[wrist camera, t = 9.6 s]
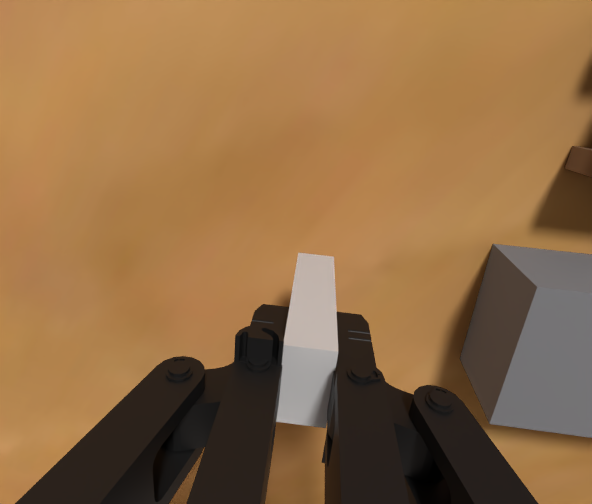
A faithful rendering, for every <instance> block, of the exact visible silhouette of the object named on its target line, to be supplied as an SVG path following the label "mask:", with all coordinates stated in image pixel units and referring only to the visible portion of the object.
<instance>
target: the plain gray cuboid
mask: <svg viewBox="0 0 592 504" xmlns="http://www.w3.org/2000/svg"><path fill="white" fill-rule="evenodd" d="M460 360H461V363H462V365H463V367H464V369H465V371H466V373H467V376H468V378H469V380H470V382H471V384H472V387H473V389H474V391H475V393H476V395H477V398H478V400H479V402H480V404H481V406H482V409H483V411H484V413H485V415H486V417H487V419H488V422H489V424H494V425H501V426H509V427H516V428H524V429H531V430H538V431H546V432H553V433H560V434H568V435H575V436H582V437H590V438H592V254H583V253H573V252H564V251H555V250H545V249H536V248H527V247H517V246H508V245H499V244H493V246H492V249H491V253H490V256H489V259H488V263H487V266H486V270H485V273H484V277H483V280H482V284H481V287H480V291H479V294H478V298H477V301H476V304H475V308H474V311H473V315H472V318H471V322H470V325H469V329H468V332H467V336H466V339H465V342H464V346H463V349H462V353H461V356H460Z"/></svg>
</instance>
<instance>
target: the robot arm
mask: <svg viewBox="0 0 592 504" xmlns="http://www.w3.org/2000/svg"><path fill="white" fill-rule="evenodd" d="M276 422H282V423H290V424H298V425H306V426H314V427H322V428H326V424H327V434H326V440H325V446H324V452H323V458H322V463H325V504H538V503H537V501H536V500H535V499H534V497H533V496H532V495H531V493H530V492H529V491H528V489H527V488H526V487H525V485H524V484H523V482H522V481H521V480H520V478H519V477H518V476H517V474H516V473H515V472H514V470H513V469H512V468H511V466H510V465H509V464H508V462H507V461H506V460H505V458H504V457H503V456H502V454H501V453H500V452H499V450H498V449H497V447H496V446H495V445H494V443H493V442H492V441H491V439H490V438H489V437H488V435H487V434H486V433H485V431H484V430H483V429H482V427H481V426H480V425H479V423H478V422H477V421H476V419H475V418H474V417H473V415H472V414H471V413H470V411H469V410H468V408H467V407H466V406H465V404H464V403H463V402H462V401H461V400H460V399H459V398H458V397H457V396H456V395H455V394H453V393H452V392H450V391H448V390H447V389H444V388H441V387H438V386H431V385H426V386H421V387H419V388H418V389H416V390H415V392H414V395H413V394H410V393H407V392H404V391H402V390H399V389H397V388H395V387H392V386H391V385H389V384H388V383H386V382H385V378H384V376H383V374H382V372H381V371H380V370H378V369H377V368H376V363H375V358H374V352H373V347H372V342H371V336H370V330H369V325H368V322H367V321H366V320H365V319H364V318H363V317H362V315H359V314H351V313H342V312H336V292H335V271H334V257H332V256H323V255H315V254H306V253H298V259H297V265H296V271H295V277H294V282H293V288H292V294H291V300H290V306H289V307H283V306H275V305H266V304H263V305H261V306H260V307H259V308H258V309H257V310H255V312H254V315H253V318H252V322H251V325H250V326H248V327H245V328H243V329H241V330H239V332H238V333H237V334H236V336H235V358H234V362H233V363H232V364H230V365H228V366H225V367H221V368H216V369H206V370H205V369H204V366H203V364H202V363H201V362H200V361H199V360H197V359H194V358H192V357H185V356H181V357H173V358H170V359H167V360H165V361H163V362H162V363H160V364H159V365H157V366H156V367H155V368H154V369H153V370H152V371H151V372H150V373H149V374H148V375H147V376H146V377H145V378H144V379H143V380H142V381H141V382H140V383H139V384H138V385H137V386H136V387H135V388H134V389H133V390H132V391H131V392H130V393H129V394H128V395H127V396H126V397H124V398H123V399H122V400H121V401H120V402H119V403H118V404H117V405H116V406H115V407H114V408H113V409H112V410H111V411H110V412H109V413H108V414H107V415H106V416H105V417H104V418H103V419H102V420H101V421H100V422H99V423H98V424H97V425H96V426H95V427H94V428H93V429H92V430H91V431H89V432H88V433H87V434H86V435H85V436H84V437H83V438H82V439H81V440H80V441H79V442H78V443H77V444H76V445H75V446H74V447H73V448H72V449H71V450H70V451H69V452H68V453H67V454H66V455H65V456H64V457H63V458H62V459H61V460H60V461H59V462H58V463H57V464H56V465H54V466H53V467H52V468H51V469H50V470H49V471H48V472H47V473H46V474H45V475H44V476H43V477H42V478H41V479H40V480H39V481H38V482H37V483H36V484H35V485H34V486H33V487H32V488H31V489H30V490H29V491H28V492H27V493H26V494H25V495H24V496H23V497H22V498H20V499H19V500H18V501H17V502H16V503H15V504H169V502H170V501H171V499H172V498H173V496H174V495H175V493H176V492H177V490H178V488H179V487H180V485H181V484H182V482H183V481H184V479H185V478H186V476H187V475H188V473H189V472H190V470H191V468H192V467H193V465H194V464H195V462H196V461H197V459H198V458H199V456H200V455H201V453H202V450H203V448H204V447H205V450H204V453H203V456H202V459H201V462H200V465H199V468H198V471H197V474H196V477H195V480H194V483H193V486H192V489H191V492H190V495H189V498H188V501H187V504H265V499H266V492H267V485H268V478H269V472H270V465H271V458H272V451H273V444H274V437H275V427H276Z"/></svg>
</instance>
